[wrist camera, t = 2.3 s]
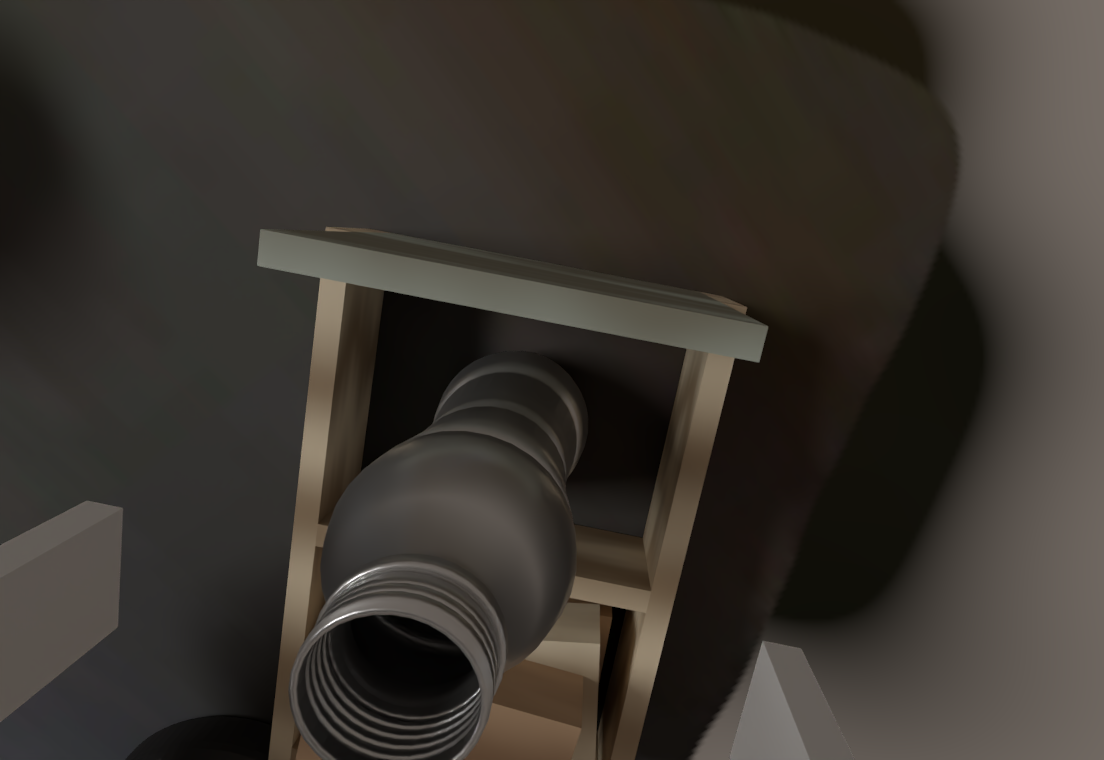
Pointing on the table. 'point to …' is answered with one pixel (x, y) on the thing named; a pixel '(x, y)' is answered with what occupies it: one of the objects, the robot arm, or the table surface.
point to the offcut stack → (546, 694)
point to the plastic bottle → (444, 568)
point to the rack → (533, 292)
